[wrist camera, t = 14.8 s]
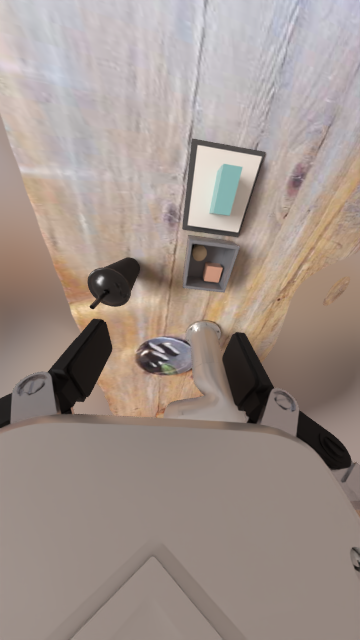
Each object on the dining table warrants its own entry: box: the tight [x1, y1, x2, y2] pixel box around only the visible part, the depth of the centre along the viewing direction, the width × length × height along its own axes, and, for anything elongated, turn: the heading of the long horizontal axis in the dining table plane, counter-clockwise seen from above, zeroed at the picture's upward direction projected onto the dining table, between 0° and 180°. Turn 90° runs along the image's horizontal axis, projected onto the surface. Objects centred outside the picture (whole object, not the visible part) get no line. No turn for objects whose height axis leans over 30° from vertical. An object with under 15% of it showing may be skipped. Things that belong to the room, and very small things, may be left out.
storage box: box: [183, 235, 240, 292], centre depth 33 cm, size 10×10×7 cm
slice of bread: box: [156, 408, 166, 418], centre depth 94 cm, size 18×18×4 cm
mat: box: [182, 139, 265, 237], centre depth 28 cm, size 13×13×1 cm
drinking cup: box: [88, 258, 140, 309], centre depth 29 cm, size 8×8×20 cm
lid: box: [188, 145, 262, 232], centre depth 26 cm, size 11×11×6 cm
